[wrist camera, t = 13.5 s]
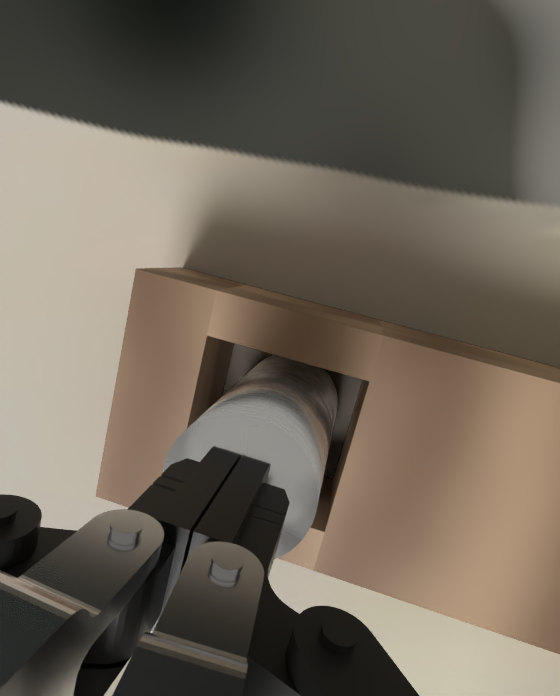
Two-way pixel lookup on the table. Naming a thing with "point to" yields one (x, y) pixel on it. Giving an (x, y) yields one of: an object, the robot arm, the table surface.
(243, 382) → the brushed metal cylinder
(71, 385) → the table surface
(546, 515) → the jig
